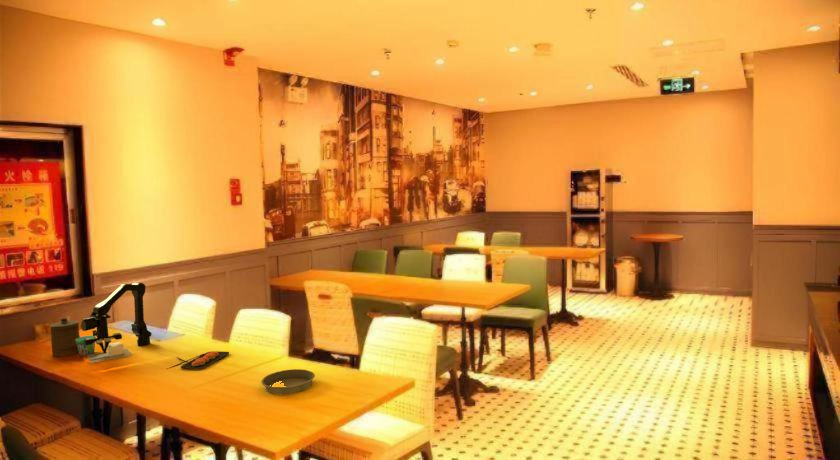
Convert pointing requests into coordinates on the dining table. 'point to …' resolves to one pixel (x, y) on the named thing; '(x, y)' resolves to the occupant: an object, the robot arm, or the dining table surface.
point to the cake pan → (288, 381)
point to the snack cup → (85, 348)
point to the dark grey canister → (64, 337)
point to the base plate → (107, 356)
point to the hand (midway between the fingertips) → (104, 353)
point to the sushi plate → (202, 360)
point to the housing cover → (115, 348)
